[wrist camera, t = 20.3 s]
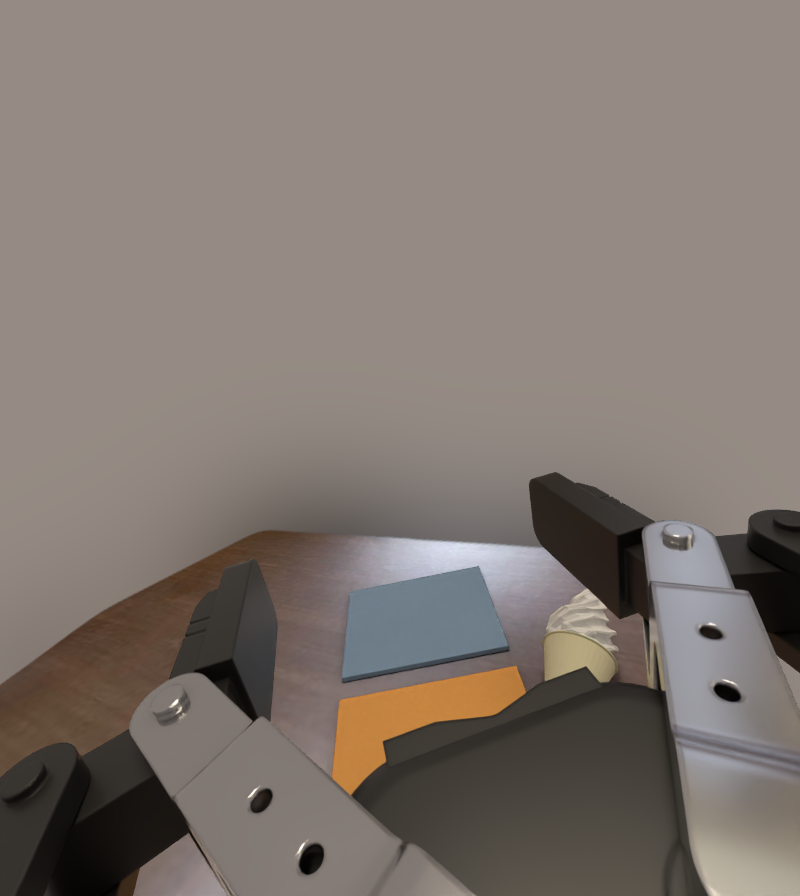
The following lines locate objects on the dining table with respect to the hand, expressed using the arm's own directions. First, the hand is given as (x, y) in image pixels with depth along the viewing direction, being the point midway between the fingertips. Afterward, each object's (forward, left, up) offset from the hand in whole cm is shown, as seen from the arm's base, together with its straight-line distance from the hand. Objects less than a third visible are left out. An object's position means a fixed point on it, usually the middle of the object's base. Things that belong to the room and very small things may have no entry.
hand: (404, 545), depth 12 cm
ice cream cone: (-5, -6, -21) cm, 22 cm away
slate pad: (+2, -22, -22) cm, 31 cm away
